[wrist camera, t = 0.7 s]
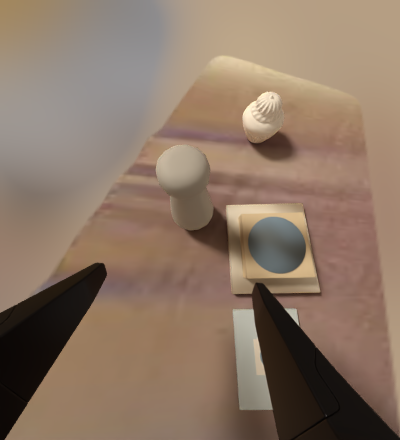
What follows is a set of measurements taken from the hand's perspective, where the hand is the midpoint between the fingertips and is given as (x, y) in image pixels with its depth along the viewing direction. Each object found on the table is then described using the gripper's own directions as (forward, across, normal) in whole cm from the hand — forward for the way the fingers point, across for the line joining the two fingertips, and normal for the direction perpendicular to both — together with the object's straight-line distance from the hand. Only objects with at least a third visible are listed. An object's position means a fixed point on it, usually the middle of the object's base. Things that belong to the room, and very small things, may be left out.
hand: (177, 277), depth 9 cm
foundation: (+13, -10, +6) cm, 17 cm away
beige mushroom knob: (+15, +1, +3) cm, 16 cm away
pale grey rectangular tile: (+4, -10, +15) cm, 19 cm away
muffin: (+26, -8, -8) cm, 28 cm away
